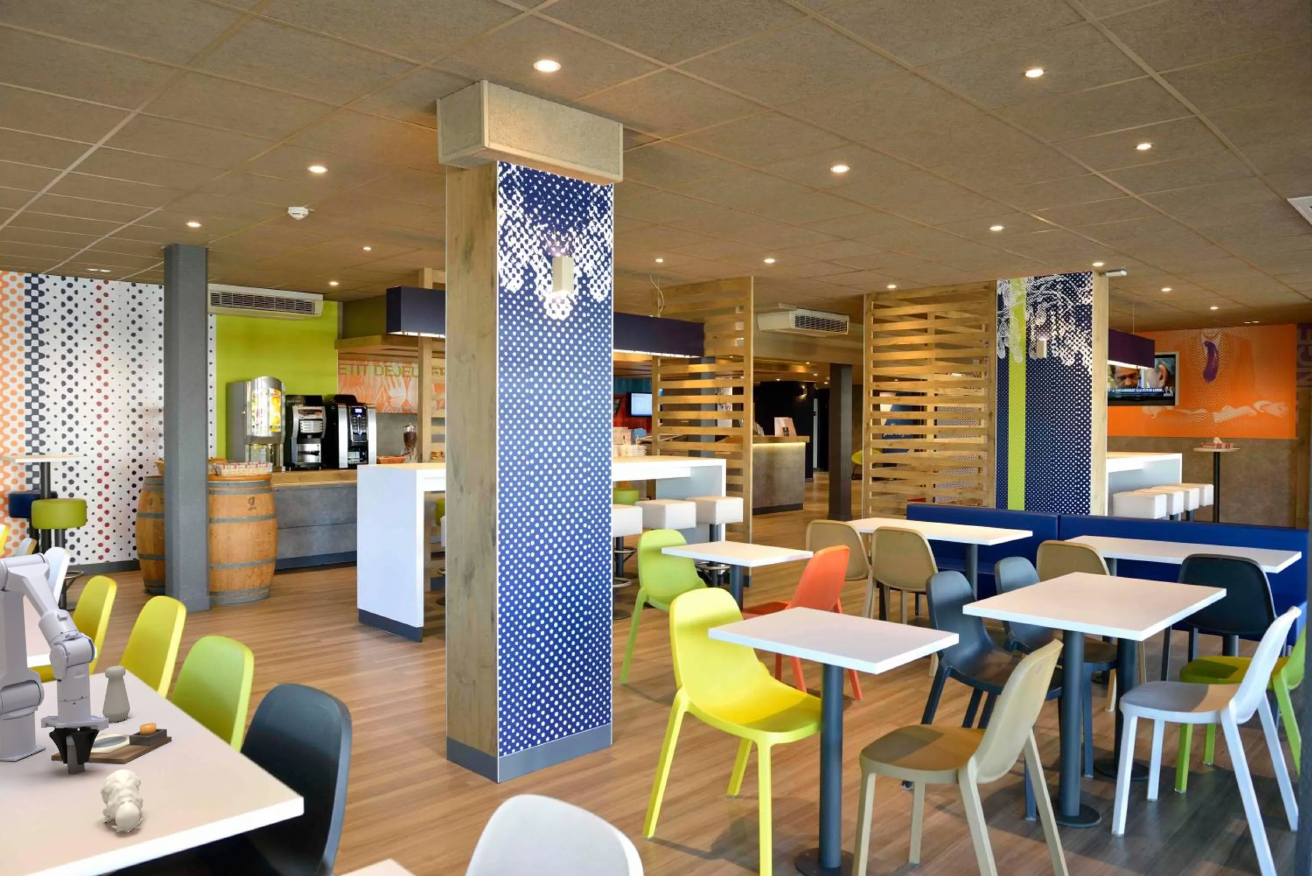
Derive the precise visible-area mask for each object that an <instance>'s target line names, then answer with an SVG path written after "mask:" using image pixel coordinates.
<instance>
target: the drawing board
mask: <svg viewBox="0 0 1312 876" xmlns="http://www.w3.org/2000/svg"><path fill="white" fill-rule="evenodd" d="M172 740H173V739H172V736H169V735H168V729H167V728H156V733H155V734H153V735H150V736H140V730H139V731H137V732H135V733H133V734H123V733H120V734H119V733H101V734H98V735H97V737H96V739H95V741H94V744H93V746H92V750H91V753H90V758H89V762H88V763H97V764H98V763H99V764H100V763H101V764H118V765H119V764H121V765H125V764H128V763H129V762H131V761H133V760H136V759H138V758H140V757H141V756H143V755H146V754H148V753H150V752H153V751H154V750H156V749H158V748H160V747H163V746H165V745H166V744H168V743H171V742H172ZM164 744H165V745H164ZM50 759H51V761H59V762H63V761H62V758H61V755H60V753H59V751H58V752H57V753H54V754H51V755H50Z"/></svg>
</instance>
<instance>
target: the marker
mask: <svg viewBox="0 0 1312 876" xmlns="http://www.w3.org/2000/svg"><path fill="white" fill-rule="evenodd" d="M66 743H67V764H66V765H67V774H68V775H77V774H80V773H83V772H85V771H86V763H84V764H82V765H78V762H77V754H76V747H75V743H74V741H73V738H72V737H71V735H68V736H67V737H66Z"/></svg>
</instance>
